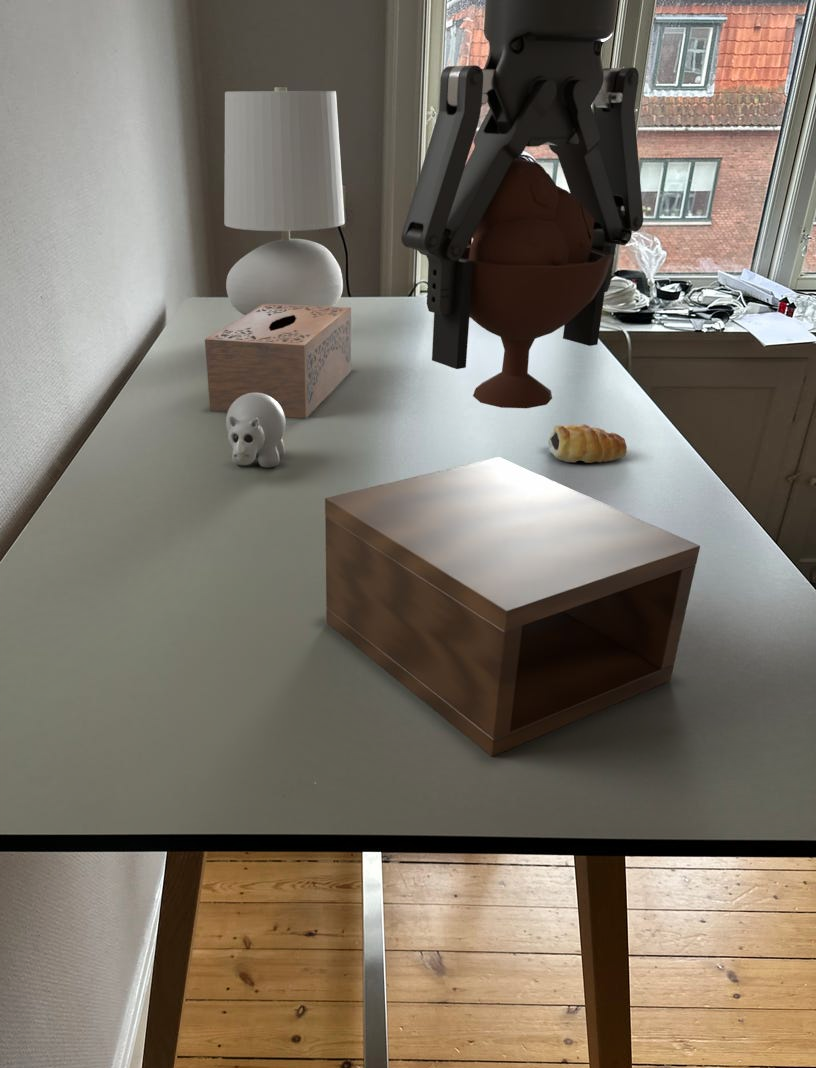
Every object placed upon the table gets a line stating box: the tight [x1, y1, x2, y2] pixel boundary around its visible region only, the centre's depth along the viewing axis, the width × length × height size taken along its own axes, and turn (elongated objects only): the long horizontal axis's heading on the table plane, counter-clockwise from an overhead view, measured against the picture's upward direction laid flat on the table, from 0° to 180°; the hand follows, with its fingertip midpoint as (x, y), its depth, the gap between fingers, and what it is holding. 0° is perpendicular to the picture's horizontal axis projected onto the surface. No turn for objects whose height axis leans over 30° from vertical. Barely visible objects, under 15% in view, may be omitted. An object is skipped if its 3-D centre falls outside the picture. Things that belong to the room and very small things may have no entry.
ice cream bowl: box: [461, 158, 613, 409], centre depth 61 cm, size 11×11×15 cm
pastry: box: [547, 424, 628, 463], centre depth 114 cm, size 9×7×4 cm
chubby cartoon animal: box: [225, 393, 287, 469], centre depth 109 cm, size 7×12×8 cm, turn 169°
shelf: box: [324, 456, 701, 757], centre depth 72 cm, size 22×18×12 cm
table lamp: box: [223, 86, 346, 316], centre depth 164 cm, size 23×22×40 cm
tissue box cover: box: [204, 304, 352, 419], centre depth 138 cm, size 26×14×10 cm, turn 165°
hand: (517, 352), depth 63 cm, fingers closed on ice cream bowl, 11 cm apart
